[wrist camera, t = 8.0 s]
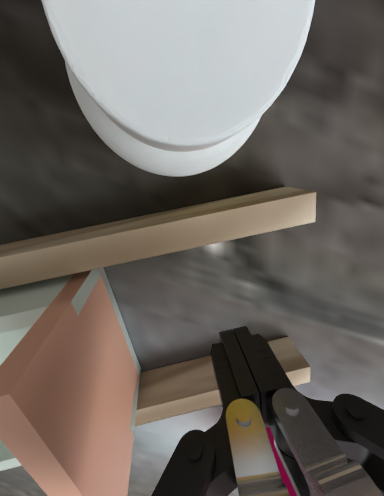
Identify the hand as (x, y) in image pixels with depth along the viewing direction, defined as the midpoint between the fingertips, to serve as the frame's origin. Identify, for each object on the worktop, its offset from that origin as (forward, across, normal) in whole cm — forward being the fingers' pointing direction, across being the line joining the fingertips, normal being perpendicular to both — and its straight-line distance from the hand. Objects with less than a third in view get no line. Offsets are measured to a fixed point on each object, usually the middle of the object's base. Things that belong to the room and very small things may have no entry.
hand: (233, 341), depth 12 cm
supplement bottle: (+5, +1, -12) cm, 13 cm away
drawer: (+5, +12, 0) cm, 13 cm away
